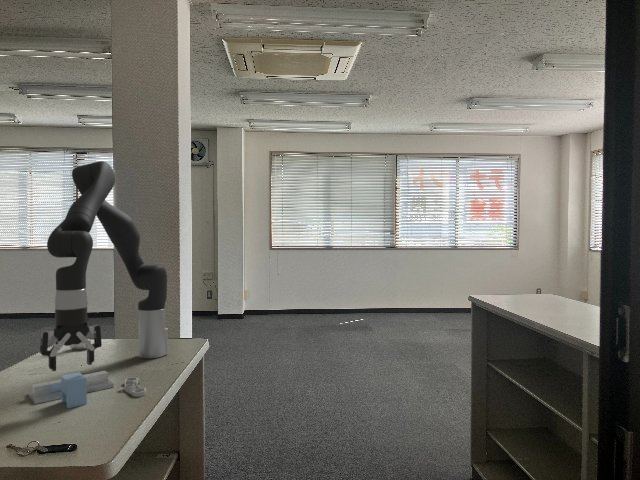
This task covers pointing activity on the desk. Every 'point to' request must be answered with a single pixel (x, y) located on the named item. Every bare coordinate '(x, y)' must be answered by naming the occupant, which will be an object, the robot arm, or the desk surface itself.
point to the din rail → (58, 394)
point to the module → (73, 390)
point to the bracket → (133, 387)
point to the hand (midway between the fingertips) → (71, 367)
